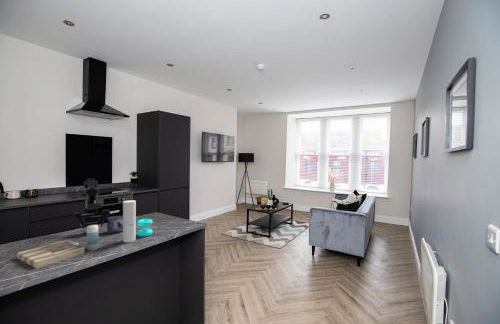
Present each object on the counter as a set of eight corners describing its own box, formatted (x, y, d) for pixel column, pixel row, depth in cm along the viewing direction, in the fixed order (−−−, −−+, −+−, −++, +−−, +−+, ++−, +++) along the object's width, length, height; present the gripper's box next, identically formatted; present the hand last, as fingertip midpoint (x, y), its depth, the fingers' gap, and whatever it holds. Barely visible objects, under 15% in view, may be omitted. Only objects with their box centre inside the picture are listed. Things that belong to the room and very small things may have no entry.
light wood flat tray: (17, 258, 125) (17, 252, 125) (64, 245, 143) (64, 240, 143) (36, 268, 114) (36, 262, 114) (84, 253, 132) (84, 247, 132)
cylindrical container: (126, 238, 156) (126, 200, 155) (137, 238, 157) (137, 200, 156) (121, 242, 149) (121, 202, 148) (133, 242, 150) (133, 202, 149)
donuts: (155, 219, 166) (143, 223, 157) (155, 233, 166) (143, 238, 157) (145, 217, 170) (133, 221, 161) (145, 231, 171) (133, 235, 162)
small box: (106, 234, 164) (106, 218, 164) (107, 231, 170) (107, 216, 170) (124, 232, 169) (124, 217, 169) (124, 229, 175) (124, 215, 175)
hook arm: (64, 242, 140) (64, 239, 140) (67, 241, 141) (67, 239, 141) (77, 247, 133) (77, 244, 133) (80, 246, 134) (80, 243, 134)
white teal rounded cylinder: (84, 249, 138) (84, 226, 138) (95, 245, 143) (95, 224, 143) (90, 251, 135) (90, 228, 135) (100, 247, 140) (100, 225, 140)
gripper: (73, 199, 141) (72, 222, 132) (109, 196, 152) (111, 217, 143) (73, 210, 148) (73, 232, 139) (108, 207, 159) (110, 227, 150)
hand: (92, 227), depth 143 cm, fingers open, 9 cm apart
